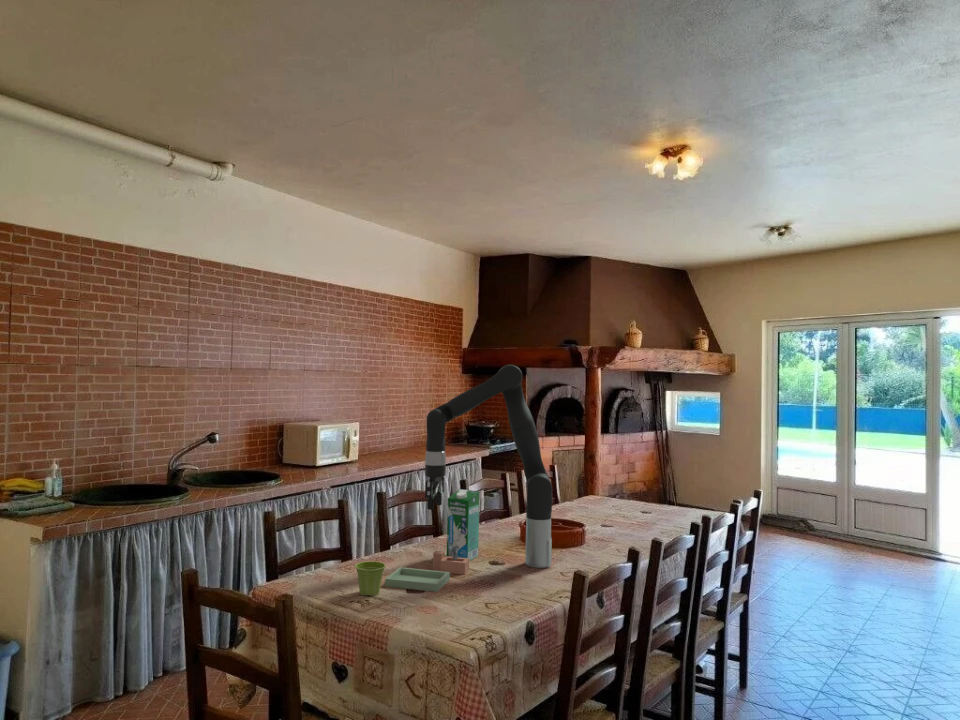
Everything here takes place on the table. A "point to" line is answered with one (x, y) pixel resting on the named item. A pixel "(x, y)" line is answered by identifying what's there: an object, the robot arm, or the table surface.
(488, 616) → the table surface
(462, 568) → the collar
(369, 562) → the plant pot
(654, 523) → the table surface
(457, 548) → the hammer
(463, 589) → the table surface
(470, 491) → the milk carton
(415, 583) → the tray
